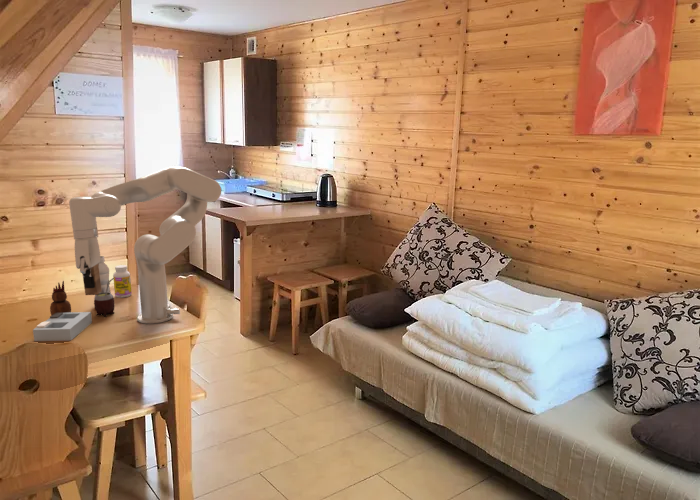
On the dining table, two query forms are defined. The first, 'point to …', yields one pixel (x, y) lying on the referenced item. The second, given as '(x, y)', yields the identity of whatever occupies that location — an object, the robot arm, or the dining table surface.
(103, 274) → the plastic bottle
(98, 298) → the mate gourd
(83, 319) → the socket board
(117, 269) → the supplement bottle
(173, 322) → the dining table surface
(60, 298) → the wooden figurine
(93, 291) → the plug
